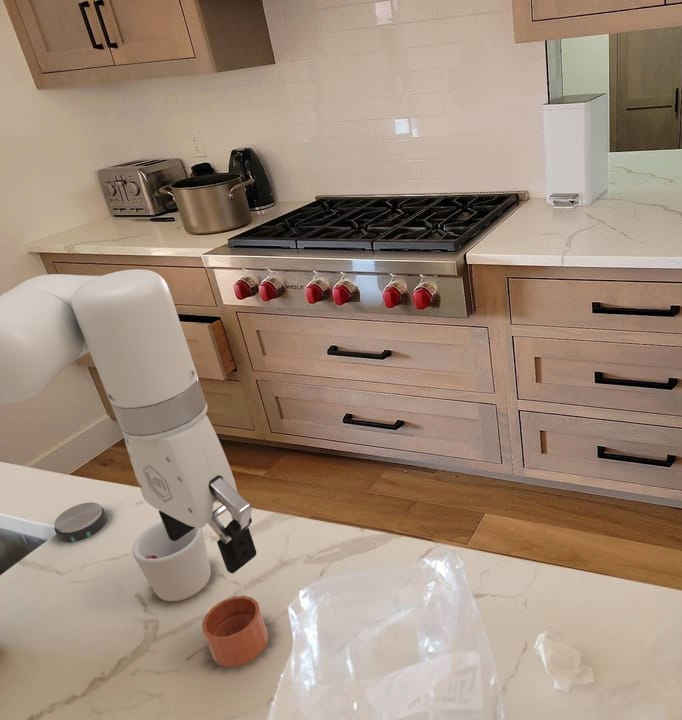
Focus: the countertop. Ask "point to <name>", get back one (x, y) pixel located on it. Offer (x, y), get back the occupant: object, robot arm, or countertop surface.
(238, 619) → the terracotta plant pot
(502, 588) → the countertop surface
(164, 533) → the cup
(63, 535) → the scale
